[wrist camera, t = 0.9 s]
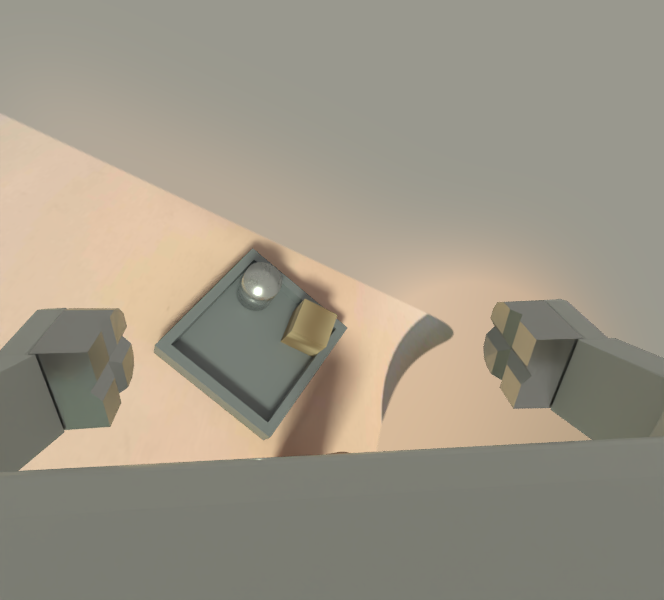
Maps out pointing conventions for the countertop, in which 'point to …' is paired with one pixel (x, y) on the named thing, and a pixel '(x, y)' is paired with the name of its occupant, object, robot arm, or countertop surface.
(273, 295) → the part metal
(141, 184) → the countertop surface
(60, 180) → the countertop surface
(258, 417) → the parts tray
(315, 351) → the part oak
